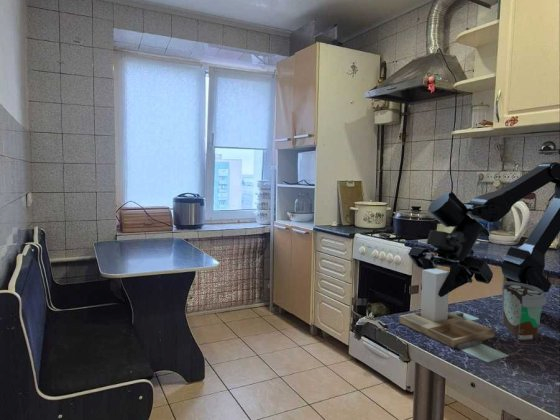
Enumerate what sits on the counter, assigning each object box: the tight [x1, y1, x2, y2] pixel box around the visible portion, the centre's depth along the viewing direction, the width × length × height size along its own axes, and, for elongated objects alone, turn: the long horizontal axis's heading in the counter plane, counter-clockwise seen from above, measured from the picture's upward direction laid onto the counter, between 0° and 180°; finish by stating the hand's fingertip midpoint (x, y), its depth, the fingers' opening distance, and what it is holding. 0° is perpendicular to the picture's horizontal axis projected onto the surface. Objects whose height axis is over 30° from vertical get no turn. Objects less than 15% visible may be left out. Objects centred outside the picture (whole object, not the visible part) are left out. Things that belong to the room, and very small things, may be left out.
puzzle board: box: [398, 310, 510, 363], centre depth 86 cm, size 18×22×2 cm
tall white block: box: [420, 267, 450, 322], centre depth 91 cm, size 4×4×11 cm
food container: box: [501, 280, 547, 342], centre depth 85 cm, size 12×6×10 cm, turn 168°
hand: (430, 293), depth 90 cm, fingers closed on tall white block, 4 cm apart
